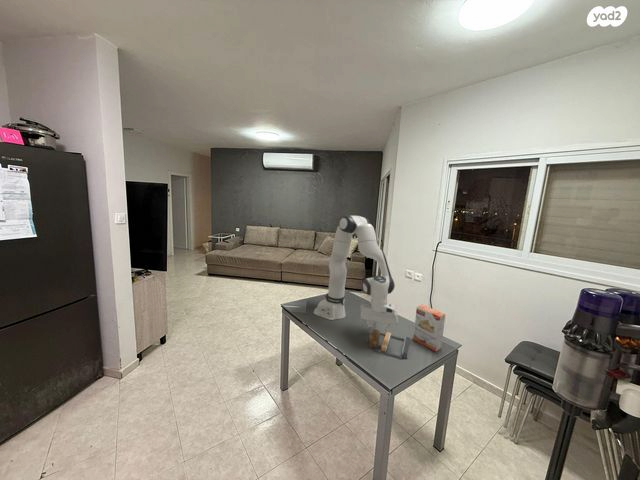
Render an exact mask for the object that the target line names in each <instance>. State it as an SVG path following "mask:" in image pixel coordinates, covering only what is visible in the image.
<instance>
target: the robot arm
mask: <svg viewBox="0 0 640 480" xmlns="http://www.w3.org/2000/svg"><path fill="white" fill-rule="evenodd" d="M354 234H355V236H356V237H357V238H356V239H357V247H358V251H359V253H360V254H361V255H363V256H364V257H366V258H369V259H371V260H372V259H373V260H374V261H376V262H377V264H378V267H379V269H380V274H381V275H374V276H373V277H368V278H365V279H363V282H362V285H361V286H362V291H363V293H364V294H366V295H367V296H370V297H371V298H370V303H362V304H360V307H359V308H360V316H359V317H360V319H361V320H364V321H366V323H367V327H368V328H372V325H373V324H372V323H371V322H374V323H380V324H385V325H387V326H385V331H386V332H389V329H390V327H391V326H397V325H398V322H399V318H398V317H399V316H398V312H397V308H396V305H395V304H393V303H392V302H389V301H388V295H389V294H392V293H393V291H394V289H395V287H396V285H395V281H394V279H393V277H392V274H391V272H390V267H389V264H388V260H387V257H386V254H385V252H384V250H383V249H381V248H380V247H379V245H378V242H377V241H378V240H377V235H376V231H375V228H374V226H373V225H372V224H371V222H370V219H368V217H365V216H360V215H351V214H350V215H343V216H341V217H340V218H339V221H338V226H337V228H336V232H335V235H334V239H333V246H332V250H331V254H330V259H329V262H328V263H329V264H328V270H329V281H328V292H327V293H326V295H325V296H324V299H323V300H320V302H318V304H317V307H315V308H314V309H313V314H314V315H315V316H318V317H320V318H323V319H327V320H329V321H334V320H342V319H344V318H346V309H345V302H346V296H345V293H346V292H345V291H346V290H345V287H346V282H347V281H346V280H347V276H348V275H347V273H348V268H347V266H346V261H347V259H348V256H349V254H350V253H349V252H350V247H351V242H352V237H353V235H354Z"/></svg>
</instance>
